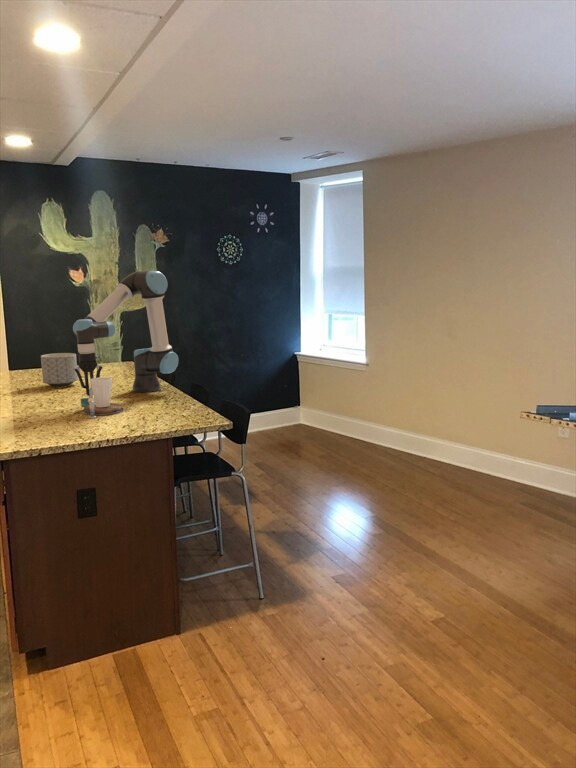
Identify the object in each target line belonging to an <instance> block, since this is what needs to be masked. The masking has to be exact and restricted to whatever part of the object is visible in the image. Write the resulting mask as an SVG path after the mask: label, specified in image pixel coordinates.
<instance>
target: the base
mask: <svg viewBox="0 0 576 768" xmlns="http://www.w3.org/2000/svg"><path fill="white" fill-rule="evenodd" d="M123 412H124V407H122V410H120V411H117V412H112V413H104V414H95V415H96V416H97V417H103V416H104V417H106V416H112V415H117V414H121V413H123ZM82 414H83V415H85V416H90V413H85V412H84V410H82Z"/></svg>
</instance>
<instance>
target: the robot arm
mask: <svg viewBox="0 0 576 768" xmlns="http://www.w3.org/2000/svg"><path fill="white" fill-rule="evenodd" d="M167 289H168V280H167V278H166V276H165V275H164V274H163V272H160V271H158V270H141V271H137V270H136V271H135V272H132V273H130V274H129V275H127V276H126V277H124V278H123V279H122V280H121V281H119V283H117V284H116V288H114V290H113V291H111V293H110V294H109V295H108V296H107V297H106V298H105V299H103V300H102V302H100V303H99V304H98V305H97V306H96V307H95V308H94V309H93V310H92V311H91V312H90V313H89V314H88V315H87V316H86V317H85V318H84V319H78V320H76V321H75V322H74V323H73V326H72V331H73V334H74V335H75V336H76V341H77V351H78V352H77V353H78V363H77V368H74V371H75V372H76V373H77V376H78V381H79V383H80V386H81V387H82V388H83V389H85V392H86V394H85V395H86V396H88V398H91V397H93V398H94V396H93V392H92V387H91V386H90V379H92V378H99V377H101V371H102V370H103V366H102V365H99V364H98V363H97V357H96V353H95V351H96V345H95V339H103V338H104V339H105V338H110V337H113V336H115V333H116V326H115V324H114V323H113V322H112V321H106V320H107V319H108V318H109V317H110V316H111V315H113V313H115V311H116V310H118V309H119V308H120V306H121V305H123V304H124V303H125V302H126V301H127V300H131V299H132V298H133V297H134V296H136V295H139V294H140V295H141V300H143V301H144V303H145V307H146V314H147V315H146V316H147V320H148V327H149V334H150V341H151V347H149V348H147V347H146V348H140V349H139V348H138V349H135V350H134V351H133V363H134V380H133V384H132V392H135V393H152V391H154V392H158V391H160V389H161V388H162V387H161V383H160V381H159V377H158V375H157V373H158V374H164V375H165V374H166V375H167V374H171V373H173V372H175V371H176V369H177V367H178V365H179V356H178V354H177V353H176V352H174V351H173V350H174V349H173V346H172V345H170V344H169V343H170V342H169V337H168V332H167V324H166V317H165V316H166V315H165V310H164V304H163V299H164V298H165V292H167ZM80 371H82V372H83V376H84V380H83V377H82V375H81V372H80ZM95 371H96V374H95V377H94V372H95ZM88 374H89V375H88ZM157 390H158V391H157ZM161 390H162V389H161Z"/></svg>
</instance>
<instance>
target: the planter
mask: <svg viewBox="0 0 576 768" xmlns="http://www.w3.org/2000/svg"><path fill="white" fill-rule="evenodd" d="M40 363H41V372H42V373H41V375H42V376H41V377H42V383H44V384H47V385H49V386H50V387H54V388H65V387H69V386H71V385H72V384H74V383H75V382H77V381H79V378H78V376H77V373H76V372H75V371H74V368H77V367H78V363H77V354H76V353H72V352H57V353H47V354H42V355H40Z"/></svg>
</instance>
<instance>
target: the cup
mask: <svg viewBox="0 0 576 768" xmlns="http://www.w3.org/2000/svg"><path fill="white" fill-rule="evenodd" d="M89 385H90V388H91V387H92V392H93V398H94V399H95V405H96V407H108V406H110V403H111V398H112V387H113V386H112V385H113V378H112V377H110V376H109V377H108V376H104V377H103V376H102V377H101V376H100V377H99V378H96V377H94V378H92V379H90V378H89Z"/></svg>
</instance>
